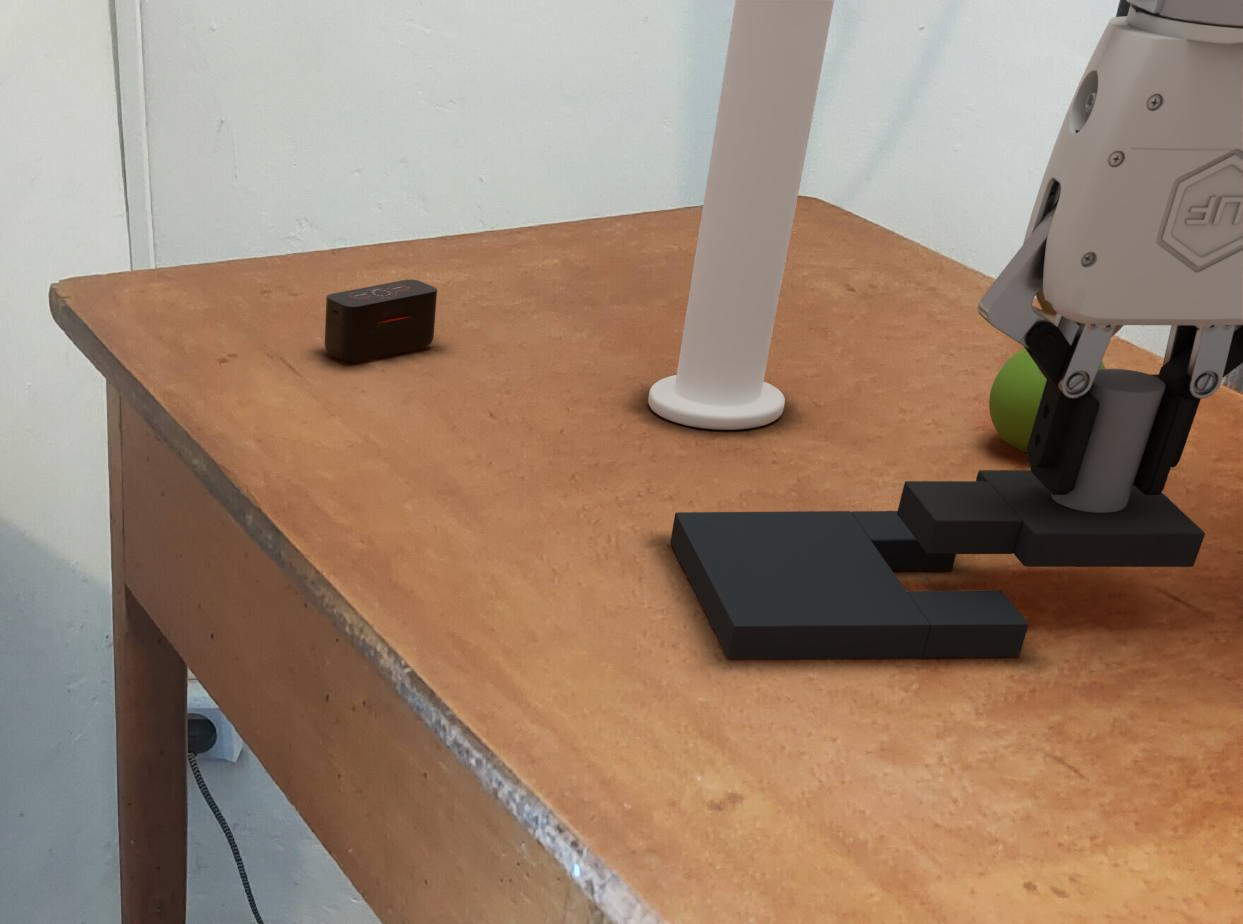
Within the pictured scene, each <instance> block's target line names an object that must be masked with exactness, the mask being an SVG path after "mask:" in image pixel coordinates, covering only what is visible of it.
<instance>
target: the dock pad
mask: <svg viewBox="0 0 1243 924" xmlns="http://www.w3.org/2000/svg"><path fill="white" fill-rule="evenodd" d="M897 511H898V510H858V511H857V510H852V511H850V510H811V511H809V510H807V511H805V510H801V511H800V510H799V511H692V512H691V511H689V512H688V511H686V512H684V511H682V512H681V511H679V512H677V511H676V512H675V513H674V518H673V524H672V531H671V534H670V535H671V536H670V542H669V543H670V546H671V548H672V550H673V551H674V554H675V555H676V557H677V559H678V561H679V564H680V565H681V568H682V569H683V571H684V573H685V575H686V577H687V580H688V582H689V583H690V585H691V587H692V589H693V592H694V593H695V596H696V598H697V599H698V601H699V603H700V605H701V607H702V609H703V612H704V613H705V616H706V618H707V620H708V622H709V624H710V625H711V628H712V629H713V632H714V634H715V636H716V637H717V639H718V641H719V643H720V645H721V647H722V649H723V651H724V653H725V655H726V657H727V659H728V660H773V659H774V660H778V659H779V660H781V659H782V660H784V659H793V660H794V659H795V660H796V659H797V660H798V659H803V660H805V659H921V658H923V659H925V658H930V659H931V658H937V659H938V658H944V659H945V658H946V659H947V658H1019V657H1020V655H1021V651H1022V649H1023V645H1024V642H1025V638H1026V635H1027V632H1028V629H1029V622H1028V620H1027V619H1026V618H1025V617H1024V615H1022V613H1021V612H1020V611H1019V610H1018V609H1017V607H1016V606H1015V605H1014V604H1013V602H1012V601H1011V599H1009V597H1008V595H1006V594H1005V592H1004V591H1003V590H1001V589H997V590H992V589H991V590H989V589H988V590H987V589H986V590H907V589H906V588H905V587H904V585H903V584H902V582H901V581H900V580H899V579H898V577H897V575H896V574H895V573H894V571H952V570H953V569H954V564H955V561H956V556H957V554H927V553H926V551H925V550H924V549H923V547H922V546H921V545H920V543H919V542H918V541H917V540H916V538H915V537H914V536H913V534H912V533H911V532H910V530H909V529H908V528H907V526H906V525H905V524H904V523H903V521H902V520H901V519H900V517H899V516H898V515H897Z"/></svg>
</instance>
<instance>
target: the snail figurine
mask: <svg viewBox="0 0 1243 924" xmlns="http://www.w3.org/2000/svg"><path fill="white" fill-rule="evenodd" d="M1035 298H1036V300H1037V302H1038V305H1039V306H1040V308H1039V307H1037V306H1035V305H1032V306H1033V309H1034V310H1036V311H1037V312H1039V313H1040V314H1043V315H1044V316H1045V317H1046V318H1047V319H1049V320H1050V321H1051V322H1052V323H1053V322H1054V320H1055V317H1056V315H1057V312H1056V311H1055V310H1054V309H1053V307H1052V304H1051V303H1049V302H1048V301H1047V300H1045V298H1044V293H1040V292H1038V293H1037V294H1036V295H1035ZM1124 326H1125V325H1116V327H1115V329H1114V332H1113V334H1112V337H1114V336H1115V335H1116V334H1117V333H1118V332H1119V331H1120V330H1121V329H1122V328H1123V327H1124ZM1101 369H1107V368H1106V366H1105V364H1104V362H1103V361H1102V362H1101V364H1100V367H1099V369H1098V370H1101ZM1046 380H1047V379H1046V378H1045V376H1044V375H1042V374H1041V373H1040V371H1039V369H1038V366H1037V365H1036V363H1035V362H1034V361H1033V359H1032V358H1031V356H1030V355H1029V353H1028V352H1027V351H1026V349H1025V348H1024V347H1022V348H1021V349H1019V350H1017V352H1015V353H1014V354H1013V355H1012V356H1010V357H1009V358H1008V359H1007V360H1006V361H1005V363H1004V364H1003V365H1002V366H1001V368H1000V369H999V371H998V373H997V374H996V376H995V378H994V380H993V383H992V384H991V385H992V386H991V388H990V391H989V393H990V394H989V400H988V407H989V408H988V409H989V415H990V420H991V422H992V425H993V427H994V429H995V430H996V432H997V434H998V435H999V436H1000V438H1001V439H1003V440H1004V441H1005V442H1006V443H1007V444H1008V445H1010V446H1012V447H1013V448H1015V449H1017V450H1020V451H1022V452H1025V453H1027V447H1028V443H1029V439H1030V436H1031V432H1032V429H1033V425H1034V422H1035V418H1036V415H1037V411H1038V408H1039V404H1040V401H1041V397H1042V394H1043V391H1044V387H1045V384H1046Z"/></svg>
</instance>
